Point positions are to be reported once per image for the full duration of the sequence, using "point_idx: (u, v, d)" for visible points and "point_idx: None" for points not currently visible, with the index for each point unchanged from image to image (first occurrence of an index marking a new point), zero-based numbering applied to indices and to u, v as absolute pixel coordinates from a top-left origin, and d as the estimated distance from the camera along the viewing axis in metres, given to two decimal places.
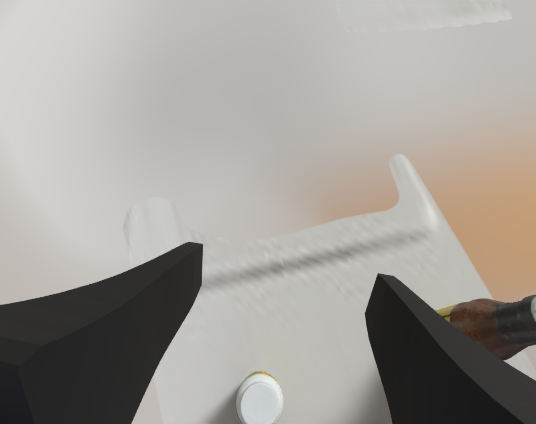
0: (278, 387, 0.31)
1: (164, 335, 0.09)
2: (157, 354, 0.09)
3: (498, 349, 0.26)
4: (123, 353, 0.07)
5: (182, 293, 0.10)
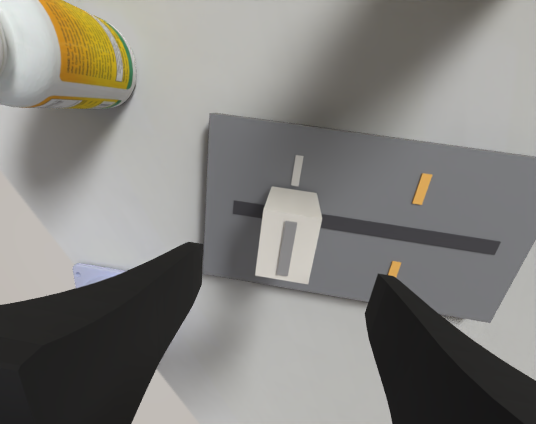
0: None
1: (164, 335, 0.09)
2: (157, 354, 0.09)
3: None
4: (123, 353, 0.07)
5: (182, 293, 0.10)
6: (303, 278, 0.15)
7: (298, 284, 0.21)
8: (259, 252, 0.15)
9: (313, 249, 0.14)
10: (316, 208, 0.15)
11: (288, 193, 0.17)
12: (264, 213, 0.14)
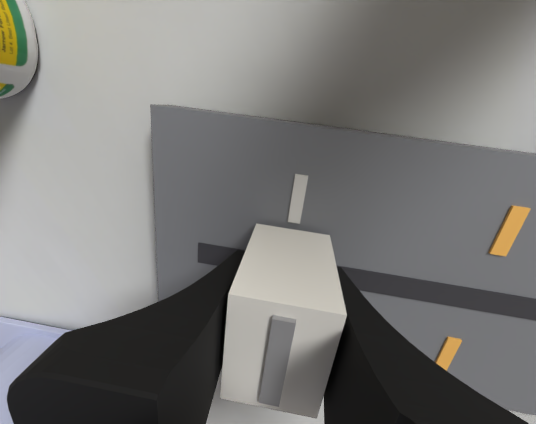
0: None
1: None
2: (219, 366, 0.08)
3: None
4: (204, 369, 0.06)
5: None
6: (308, 409, 0.08)
7: None
8: (225, 364, 0.08)
9: (327, 365, 0.07)
10: (331, 280, 0.08)
11: (283, 240, 0.10)
12: (230, 301, 0.07)
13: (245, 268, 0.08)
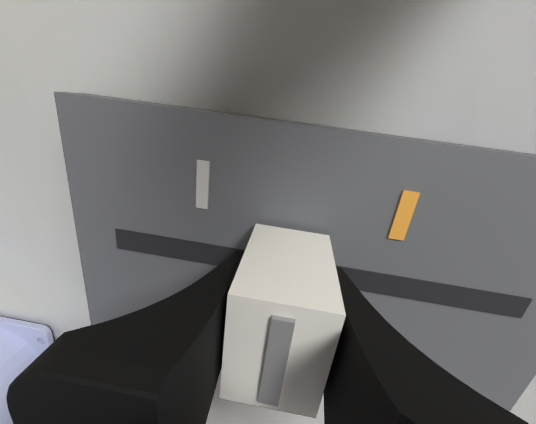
0: None
1: None
2: (219, 366, 0.08)
3: None
4: (204, 369, 0.06)
5: None
6: (307, 408, 0.08)
7: None
8: (224, 364, 0.08)
9: (326, 365, 0.07)
10: (330, 281, 0.08)
11: (282, 240, 0.10)
12: (229, 301, 0.07)
13: (244, 268, 0.08)
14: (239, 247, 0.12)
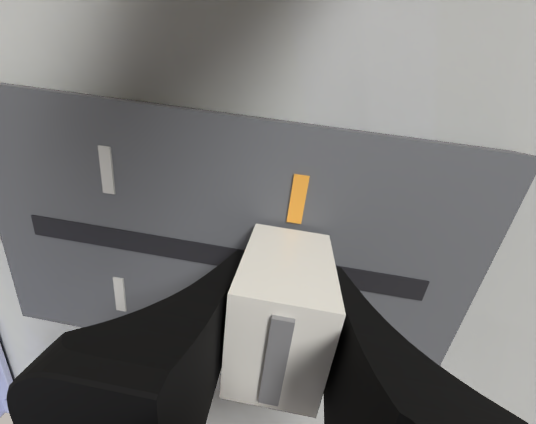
0: None
1: None
2: (219, 366, 0.08)
3: None
4: (204, 369, 0.06)
5: None
6: (307, 408, 0.08)
7: None
8: (224, 364, 0.08)
9: (326, 365, 0.07)
10: (330, 281, 0.08)
11: (282, 240, 0.10)
12: (229, 300, 0.07)
13: (244, 268, 0.08)
14: (150, 232, 0.12)
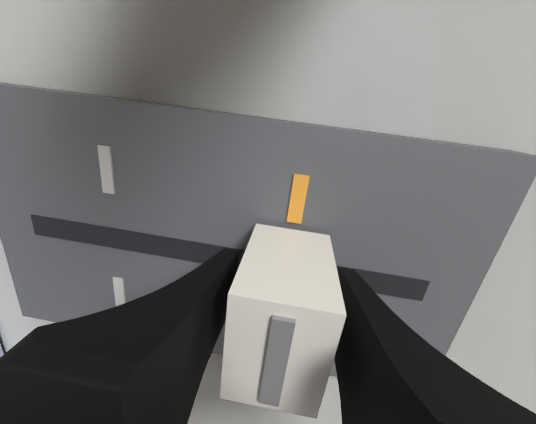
0: None
1: (209, 344, 0.09)
2: (203, 363, 0.09)
3: None
4: (183, 365, 0.06)
5: (223, 300, 0.10)
6: (308, 409, 0.08)
7: None
8: (225, 364, 0.08)
9: (327, 365, 0.07)
10: (331, 280, 0.08)
11: (282, 240, 0.10)
12: (230, 301, 0.07)
13: (245, 268, 0.08)
14: (149, 232, 0.12)
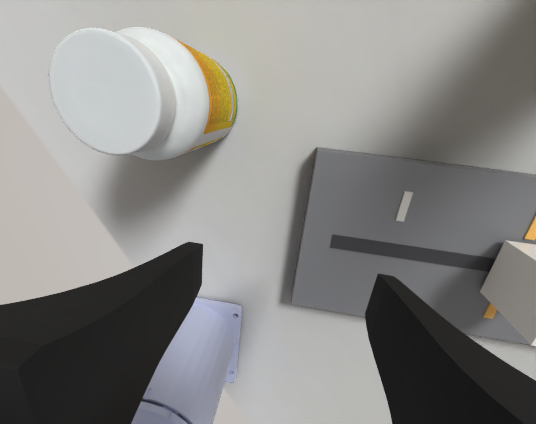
0: (184, 57, 0.11)
1: (164, 335, 0.09)
2: (157, 353, 0.09)
3: None
4: (123, 353, 0.07)
5: (182, 293, 0.10)
6: None
7: None
8: None
9: None
10: None
11: None
12: None
13: None
14: (418, 246, 0.18)
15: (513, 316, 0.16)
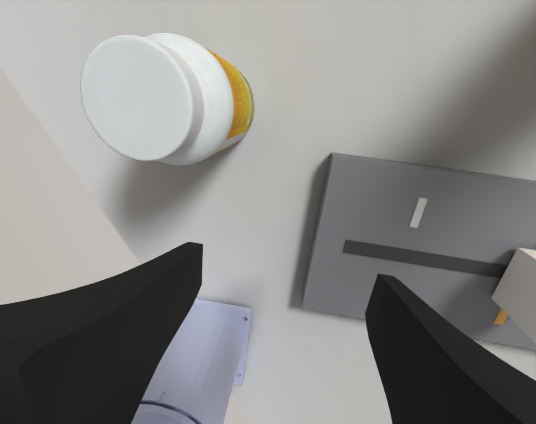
0: (212, 64, 0.11)
1: (164, 335, 0.09)
2: (157, 354, 0.09)
3: None
4: (123, 353, 0.07)
5: (182, 293, 0.10)
6: None
7: None
8: None
9: None
10: None
11: None
12: None
13: None
14: (431, 252, 0.18)
15: (526, 323, 0.16)
